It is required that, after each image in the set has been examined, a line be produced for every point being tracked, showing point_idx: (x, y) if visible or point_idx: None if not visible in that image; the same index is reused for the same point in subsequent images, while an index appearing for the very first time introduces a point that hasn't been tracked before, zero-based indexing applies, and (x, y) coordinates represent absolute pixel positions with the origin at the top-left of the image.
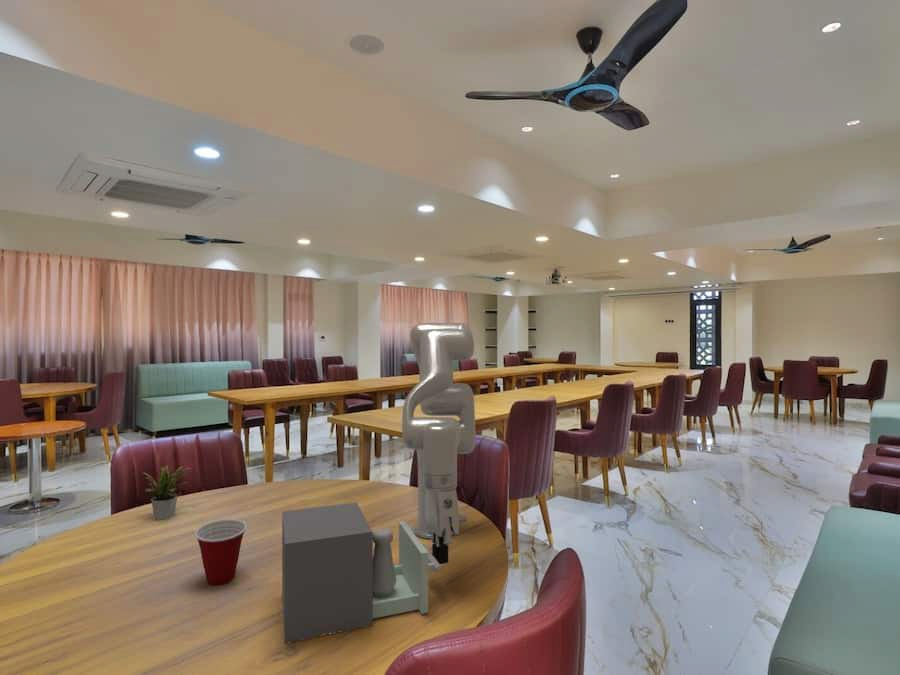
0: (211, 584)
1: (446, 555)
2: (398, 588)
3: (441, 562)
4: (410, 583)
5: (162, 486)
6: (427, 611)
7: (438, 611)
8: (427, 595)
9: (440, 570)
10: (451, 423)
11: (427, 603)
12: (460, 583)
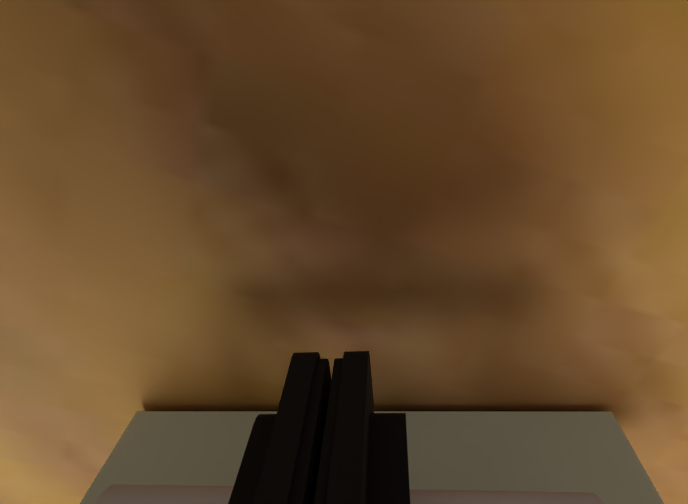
0: None
1: (368, 420)
2: None
3: (372, 411)
4: None
5: None
6: (615, 420)
7: (611, 355)
8: (658, 501)
9: (592, 496)
10: None
11: (633, 456)
12: (332, 128)
